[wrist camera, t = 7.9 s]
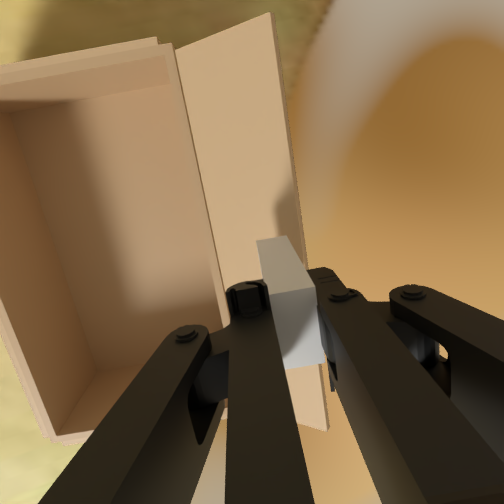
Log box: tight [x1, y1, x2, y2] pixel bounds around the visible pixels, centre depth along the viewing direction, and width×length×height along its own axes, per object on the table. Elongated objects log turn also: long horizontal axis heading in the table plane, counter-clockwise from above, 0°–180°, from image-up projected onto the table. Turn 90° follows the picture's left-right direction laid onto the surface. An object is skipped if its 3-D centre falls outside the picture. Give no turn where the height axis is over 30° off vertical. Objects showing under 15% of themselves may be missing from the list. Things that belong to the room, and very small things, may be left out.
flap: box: [175, 12, 330, 432], centre depth 20 cm, size 22×1×6 cm
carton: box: [0, 36, 230, 446], centre depth 26 cm, size 24×14×8 cm, turn 10°
